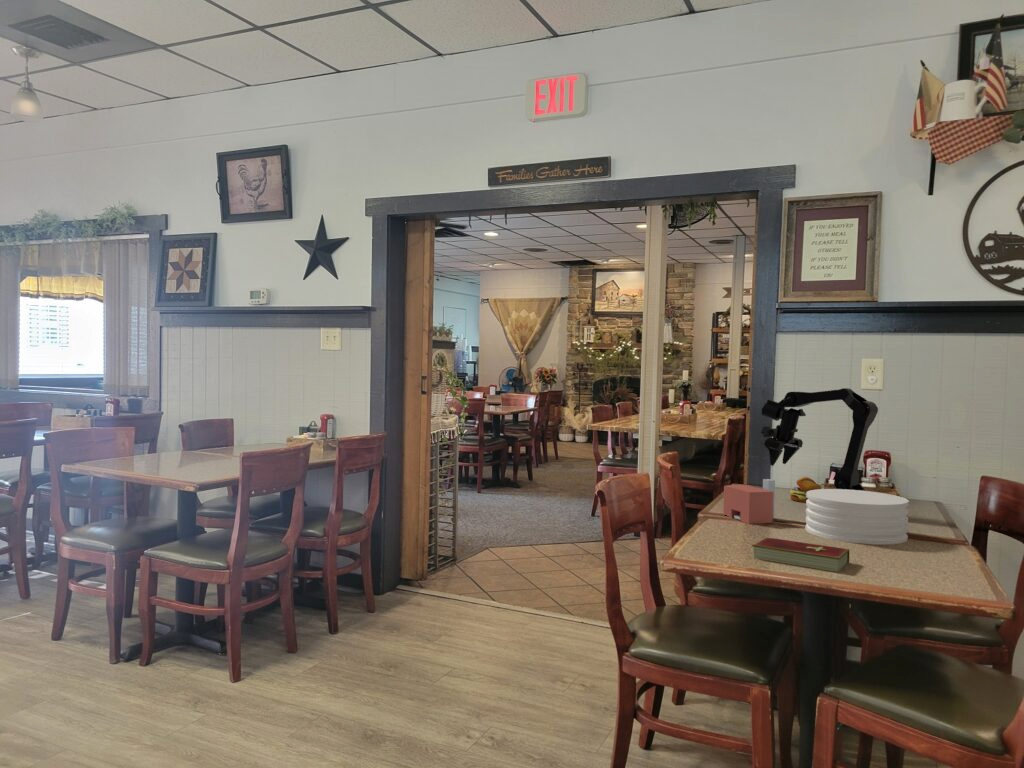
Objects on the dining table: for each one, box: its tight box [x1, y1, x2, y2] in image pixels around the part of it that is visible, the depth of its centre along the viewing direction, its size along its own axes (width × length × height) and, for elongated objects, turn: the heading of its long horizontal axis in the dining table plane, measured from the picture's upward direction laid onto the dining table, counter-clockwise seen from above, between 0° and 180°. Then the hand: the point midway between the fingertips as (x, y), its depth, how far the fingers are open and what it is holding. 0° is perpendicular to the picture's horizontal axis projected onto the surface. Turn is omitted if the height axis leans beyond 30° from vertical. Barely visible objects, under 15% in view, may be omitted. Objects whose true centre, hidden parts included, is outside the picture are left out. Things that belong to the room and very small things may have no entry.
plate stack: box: [805, 488, 910, 545], centre depth 224 cm, size 28×28×12 cm
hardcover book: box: [751, 536, 850, 573], centre depth 190 cm, size 12×21×4 cm, turn 55°
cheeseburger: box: [789, 476, 822, 503], centre depth 281 cm, size 10×11×10 cm
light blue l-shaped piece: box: [733, 478, 776, 520], centre depth 244 cm, size 13×3×12 cm, turn 108°
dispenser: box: [722, 484, 774, 525], centre depth 243 cm, size 10×14×10 cm
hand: (777, 464), depth 276 cm, fingers open, 9 cm apart
